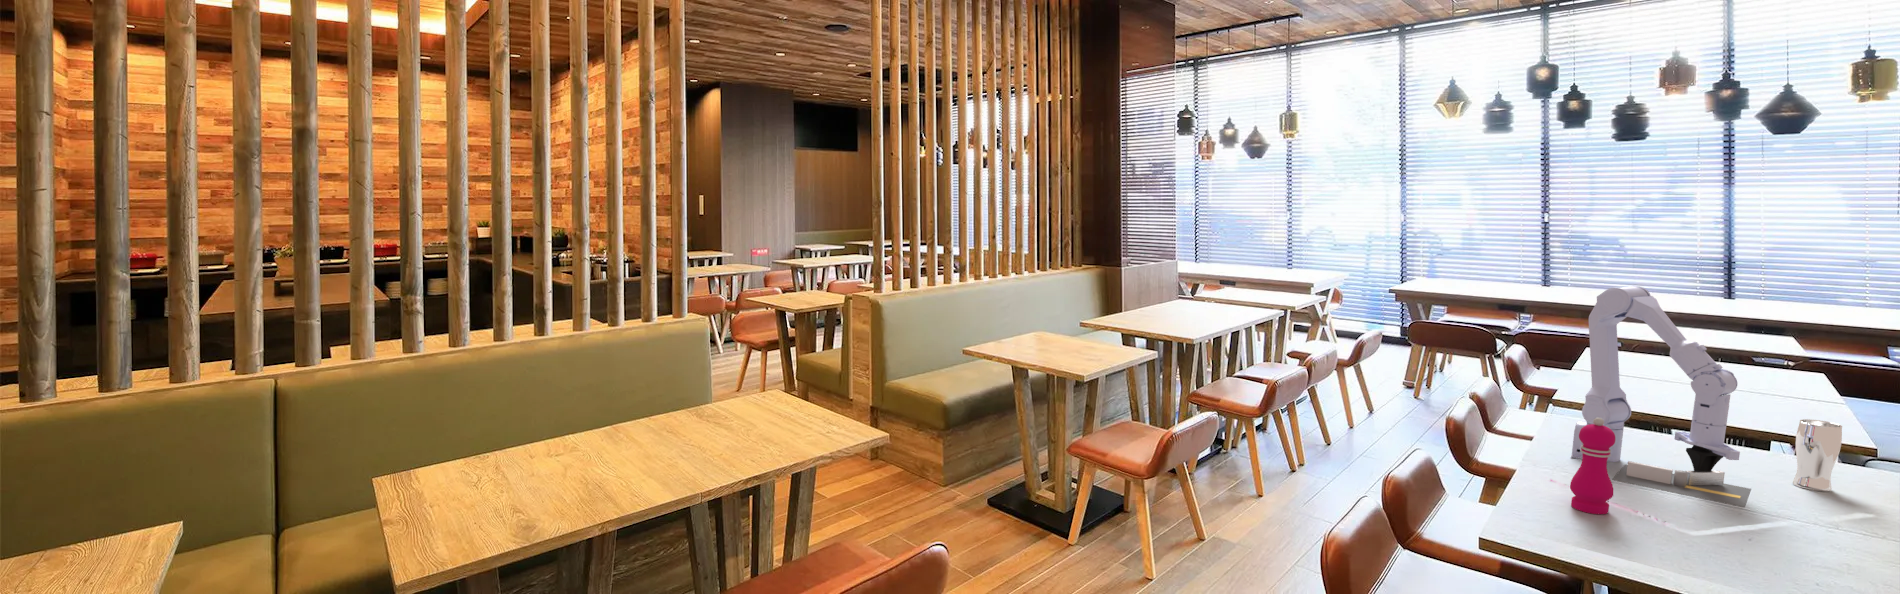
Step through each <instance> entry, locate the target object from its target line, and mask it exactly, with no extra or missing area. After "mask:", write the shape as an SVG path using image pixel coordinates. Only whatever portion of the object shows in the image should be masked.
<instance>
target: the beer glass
mask: <svg viewBox="0 0 1900 594" xmlns="http://www.w3.org/2000/svg"><path fill="white" fill-rule="evenodd" d="M1796 431H1797V432H1796V436H1795V453H1796V454H1795V455H1796V463H1797V464H1796V465H1797V466H1796V467H1797V469H1796V473H1795V475H1794V478H1793V480H1792V485H1794V486H1795V487H1799V488H1802V489H1805V490H1809V491H1814V492H1831V491H1832V490H1833V489H1832V488H1833V487H1832V480H1831V479H1832V478H1831V477H1832V473H1833V469H1834V467H1835V464H1836V461H1837V460H1838V457H1839V455H1840V451H1841V447H1842V439H1843V438H1842V435H1843V425H1841V424H1839V423H1835V422H1831V421H1825V420H1819V419H1808V418H1807V419H1805V418H1804V419H1800V420H1799V423H1798V427H1797V430H1796Z"/></svg>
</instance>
